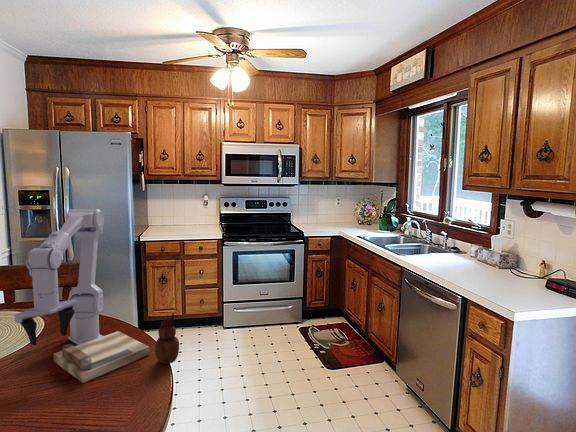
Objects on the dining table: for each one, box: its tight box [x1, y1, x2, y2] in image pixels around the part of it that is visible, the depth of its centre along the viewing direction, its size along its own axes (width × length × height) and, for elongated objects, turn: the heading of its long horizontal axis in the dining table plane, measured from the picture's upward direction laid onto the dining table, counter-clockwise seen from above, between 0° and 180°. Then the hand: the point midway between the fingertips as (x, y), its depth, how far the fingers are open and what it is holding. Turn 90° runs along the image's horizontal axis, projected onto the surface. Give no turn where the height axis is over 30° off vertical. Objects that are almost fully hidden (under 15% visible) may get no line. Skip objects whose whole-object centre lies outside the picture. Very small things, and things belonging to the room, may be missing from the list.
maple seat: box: [53, 330, 150, 384], centre depth 112 cm, size 18×20×3 cm
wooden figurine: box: [154, 312, 180, 365], centre depth 110 cm, size 7×6×15 cm
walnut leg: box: [61, 343, 92, 370], centre depth 105 cm, size 14×3×2 cm, turn 54°
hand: (49, 339), depth 102 cm, fingers open, 7 cm apart
